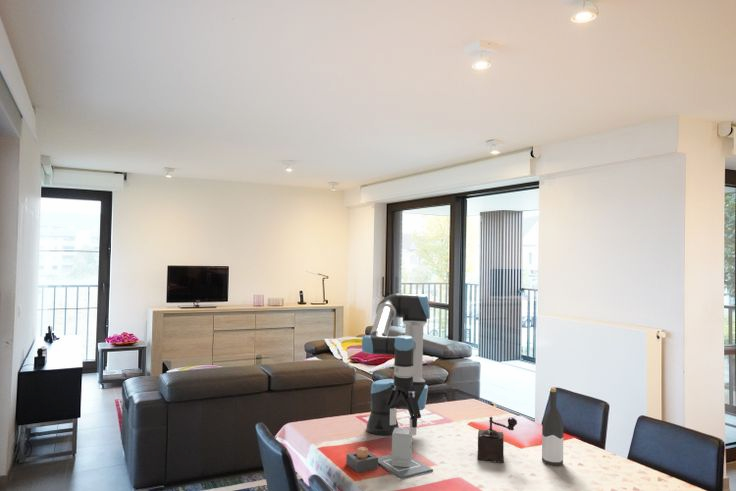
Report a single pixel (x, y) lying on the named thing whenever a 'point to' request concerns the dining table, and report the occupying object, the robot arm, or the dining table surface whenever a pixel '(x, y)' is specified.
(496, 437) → the manual coffee grinder
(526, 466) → the dining table surface
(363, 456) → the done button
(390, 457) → the slate board
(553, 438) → the wine bottle
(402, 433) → the supplement box
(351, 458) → the button housing
